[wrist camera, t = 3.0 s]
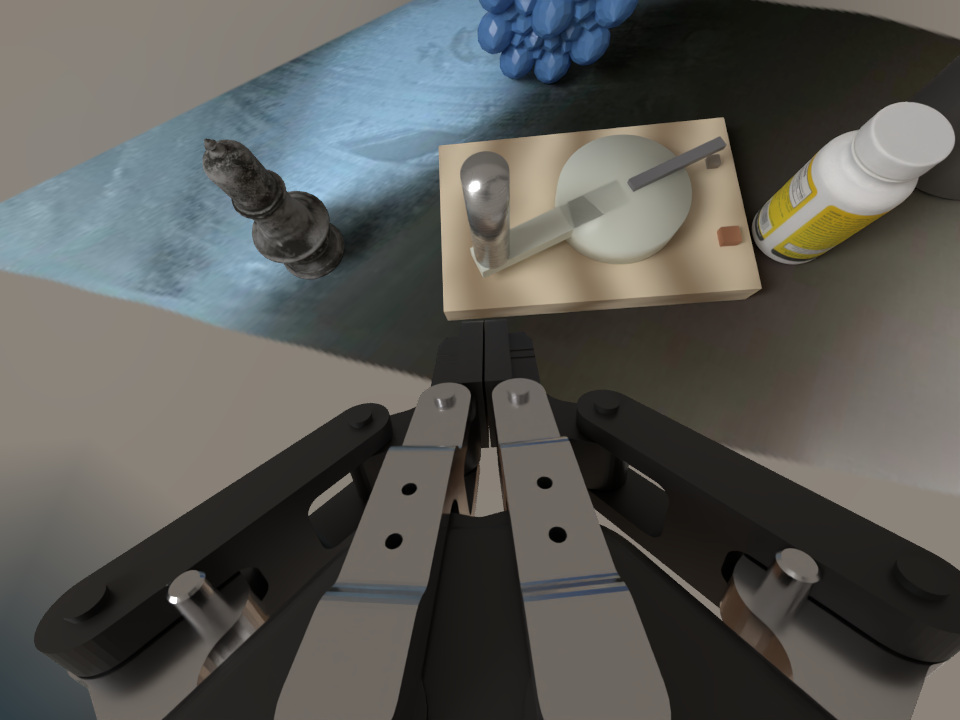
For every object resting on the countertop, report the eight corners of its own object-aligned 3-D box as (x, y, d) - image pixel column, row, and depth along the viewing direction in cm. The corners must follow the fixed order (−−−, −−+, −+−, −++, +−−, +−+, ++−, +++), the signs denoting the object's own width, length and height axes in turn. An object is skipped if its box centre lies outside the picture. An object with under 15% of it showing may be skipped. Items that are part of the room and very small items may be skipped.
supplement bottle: (841, 243, 30) (997, 146, 20) (780, 279, 29) (910, 197, 20) (792, 189, 31) (917, 73, 21) (733, 223, 31) (834, 121, 21)
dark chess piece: (308, 205, 34) (202, 77, 22) (362, 238, 33) (280, 121, 21) (264, 260, 33) (130, 156, 21) (318, 295, 32) (208, 206, 20)
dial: (673, 120, 31) (750, -35, 21) (741, 212, 28) (861, 89, 19) (452, 223, 30) (425, 114, 20) (506, 325, 28) (503, 259, 18)
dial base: (710, 137, 32) (727, 110, 30) (745, 299, 29) (767, 284, 27) (442, 163, 34) (437, 140, 31) (448, 320, 31) (442, 309, 28)
